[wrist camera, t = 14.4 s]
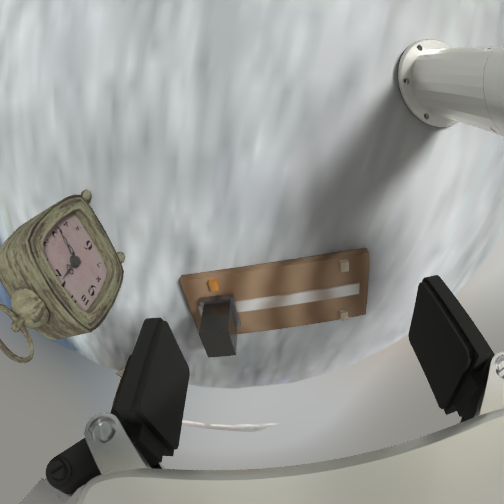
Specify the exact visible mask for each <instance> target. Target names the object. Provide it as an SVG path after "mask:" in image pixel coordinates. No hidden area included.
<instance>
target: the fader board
mask: <svg viewBox="0 0 504 504" xmlns="http://www.w3.org/2000/svg"><path fill="white" fill-rule="evenodd" d="M368 274H369V252H368V250H367V248H363V249H356V250H350V251H344V252H337V253H331V254H324V255H318V256H311V257H305V258H298V259H291V260H285V261H278V262H271V263H265V264H258V265H251V266H244V267H237V268H230V269H223V270H216V271H209V272H202V273H195V274H188V275H182V276H181V279H180V283H181V286H182V288H183V291H184V294H185V297H186V299H187V302H188V305H189V308H190V310H191V313H192V315H193V318H194V321H195V323H196V326H197V328H198V331H199V329H200V323H201V317H202V312H203V311H202V308H201V305H200V298H201V297H208V296H216V295H224V294H232V293H234V297H235V301H236V305H237V309H238V313H239V316H240V320H241V328H237V334H242V333H250V332H258V331H266V330H273V329H281V328H288V327H295V326H301V325H308V324H314V323H320V322H326V321H332V320H338V319H340V320H347V319H348V318H349V317H354V316H359V315H364V314H366V304H367V291H368Z"/></svg>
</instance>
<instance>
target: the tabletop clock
mask: <svg viewBox="0 0 504 504" xmlns="http://www.w3.org/2000/svg"><path fill="white" fill-rule="evenodd" d="M90 199H91V192H90V191H89V190H84V191H83V192H82V193H81V195H72V196H69V197H66V198H65V199H63V200H61V201H60V202H58V203H56V204H54V205H53V206H51V207H49V208H48V209H46V210H45V211H43V212H41V213H40V214H38V215H37V216H35V217H34V218H32V219H30V220H29V221H27V222H26V223H24V224H23V225H21V226H20V227H18V228H17V229H16V231H15V232H14V233H13V234H12V235H11V236H10V237H9V238H8V239H7V240H6V241H5V242H4V244H3V245H2V247H1V248H0V282H1V283H2V285H3V287H4V288H5V290H6V292H7V293H8V295H9V296H10V298H11V310H10V309H9V308H8V307H6V306H5V305H3V304H0V309H1V310H3V311H4V312H5V313H6V314H7V315H9V316H10V318H11V319H12V320H13V321H14V322H13V323H12V325H11V329H12V330H13V331H14V332H18V331H19V330H21V332H22V333H23V334H24V336H25V338H26V340H27V342H28V344H29V347H30V355H29V356H28V357H26V358H22V357H18V356H17V355H15V354H13V353H12V352H11V351H10V350H9V349H8V348H7V347H6V346H5V344H4V343H3V342H2V341H1V339H0V349H1V350H2V351H3V352H4V353H5V354H6V355H7V356H8V357H9V358H11V359H12V360H14V361H16V362H19V363H27V362H29V361H30V360H31V359H32V358H33V355H34V347H33V342H32V339H31V337H30V335H29V333H28V331H27V329H26V328H25V327H27V328H30V329H33V328H35V329H36V330H37V331H39V332H40V333H41V334H42V335H44V336H45V337H47V338H49V339H51V340H57V339H62V338H66V337H71V336H75V335H80V334H84V333H89V332H91V331H93V330H95V329H96V328H97V327H98V326H99V325H100V324H101V323H102V322H103V320H104V319H105V317H106V316H107V314H108V312H109V311H110V309H111V308H112V306H113V304H114V302H115V299H116V297H117V295H118V292H119V290H120V287H121V284H122V280H123V273H124V270H123V268H122V265H121V262H123V261H124V259H125V255H124V253H122V252H117V253H116V251H115V249H114V247H113V245H112V243H111V241H110V239H109V237H108V235H107V233H106V231H105V230H104V228H103V226H102V225H101V223H100V221H99V220H98V218H97V216H96V215H95V213H94V211H93V210H92V208H91V206H90V205H89V204H88V202H87V201H88V200H90Z"/></svg>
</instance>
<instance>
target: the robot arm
mask: <svg viewBox="0 0 504 504" xmlns="http://www.w3.org/2000/svg"><path fill="white" fill-rule="evenodd" d="M417 48H418V49H417ZM404 80H405V82H404ZM398 83H399V87H400V92H401V94H402V97H403V99H404V101H405V103H406V105H407V106H408V108H409V109H410V110H411V111H412V113H413V114H414V115H415V116H416V117H418V118H419V119H420V120H422V121H423V122H425V123H427V124H430V125H433V126H437V127H448V126H452V125H454V124H456V123H458V122H462V123H465V124H468V125H472V126H475V127H478V128H481V129H484V130H487V131H490V132H493V133H496V134H498V135H501V136H504V47H464V48H452V47H450V46H449V45H447V44H445V43H443V42H441V41H438V40H432V39H426V40H420V41H418V42H415V43H413V44H412V45H410V46H409V47H408V48H407V49H406V50H405V51H404V53H403V55H402V57H401V59H400V63H399V67H398ZM409 341H410V343H411V345H412V347H413V349H414V351H415V353H416V356H417V358H418V360H419V362H420V364H421V366H422V369H423V371H424V373H425V375H426V377H427V380H428V382H429V384H430V386H431V389H432V391H433V393H434V396H435V398H436V400H437V403H438V405H439V407H440V408H441V409H444V411H445V413H446V415H447V414H450V413H452V412H455V411H457V412H458V414H459V419H458V422H457V424H456V425H454V426H451V427H449V428H446V429H443V430H440V431H438V432H435V433H432V434H429V435H426V436H423V437H420V438H417V439H414V440H411V441H408V442H405V443H401V444H398V445H394V446H391V447H387V448H383V449H380V450H376V451H372V452H367V453H363V454H359V455H354V456H350V457H345V458H340V459H334V460H329V461H323V462H317V463H310V464H303V465H296V466H286V467H276V468H265V469H249V470H175V469H165V468H164V466H163V465H162V464H161V461H162V456H173V453H174V449H177V448H178V445H179V439H180V432H181V425H182V419H183V411H184V406H185V399H186V393H187V387H188V381H189V367H188V365H187V363H186V361H185V359H184V357H183V355H182V352H181V350H180V348H179V346H178V344H177V342H176V340H175V338H174V336H173V333H172V331H171V329H170V327H169V325H168V323H167V322H166V321H163V320H162V319H161V318H150V319H145V321H144V323H143V326H142V329H141V331H140V334H139V337H138V340H137V342H136V345H135V348H134V351H133V354H131V355H130V357H129V359H128V361H127V364H126V367H125V370H124V373H123V376H122V379H121V382H120V385H119V388H118V391H117V394H116V397H115V400H114V403H113V407H112V410H111V413H106V412H105V413H100V414H97V415H95V416H93V417H92V418H91V419H90V420H89V421H88V423H87V424H86V427H85V431H84V435H85V438H84V439H82V440H81V441H79V442H78V443H76V444H75V445H73V446H72V447H70V448H68V449H67V450H65V451H64V452H62V453H61V454H59V455H57V456H56V457H54V458H53V459H52V460H51V461H50V462H49V464H48V465H47V468H46V477H47V478H46V479H45V480H44V479H43V478H41V480H40V481H39V482H38V483H37V484H36V485H35V486H34V487H33V489H32V490H31V491H30V492H29V493H28V494H27V495H26V497H25V498H24V499H23V500H22V501H21V502H20V503H19V504H504V351H503V352H499V353H497V354H496V355H494V353H493V351H492V350H491V348H490V347H489V345H488V343H487V342H486V340H485V339H484V337H483V336H482V334H481V333H480V331H479V330H478V329H477V327H476V326H475V324H474V322H473V321H472V320H471V318H470V317H469V315H468V314H467V313H466V311H465V310H464V308H463V307H462V306H461V304H460V303H459V301H458V300H457V299H456V297H455V296H454V295H453V293H452V292H451V291H450V289H449V288H448V287H447V286H446V284H445V283H444V282H443V280H442V279H441V278H440V277H439V276H438V275H435V276H430V277H426V278H424V279H423V280H422V282H421V283H420V284H419V286H418V292H417V297H416V302H415V307H414V312H413V317H412V322H411V326H410V330H409Z"/></svg>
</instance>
